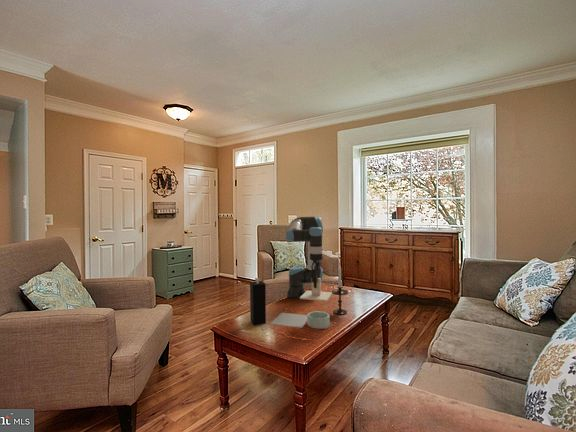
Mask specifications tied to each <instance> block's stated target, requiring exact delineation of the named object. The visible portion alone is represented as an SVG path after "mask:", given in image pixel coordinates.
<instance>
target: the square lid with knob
mask: <svg viewBox="0 0 576 432" xmlns="http://www.w3.org/2000/svg"><path fill="white" fill-rule="evenodd" d="M317 282H318V293H313V282H312V283H311V290H305V293H304V294H303V295H302V296H301V297H300V300H306V301H307V300H309V301H320V302H328V301H329V299H330V298H331V296H332V295H333V294H332V291H322V281H321V278H317Z"/></svg>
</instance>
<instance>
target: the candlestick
mask: <svg viewBox="0 0 576 432" xmlns="http://www.w3.org/2000/svg"><path fill="white" fill-rule="evenodd" d="M337 272H338V273H337V274H338V277H337V278H338V279H337V280H338V282H337V283H338V286H336V289H332V290H331V292H332V295H336V296H338V300H337V302H338V305H337V306H338V308H336V309H333V310H332V312H333V314H335V315H337V316H344V315H346V314H348V311H347V310H346V309H344V308H342V303H343V300H342V296H347V295H348V294H349V290H347V289H345V288H344V287H343V286H342V267H341V261H339V262H338V268H337Z"/></svg>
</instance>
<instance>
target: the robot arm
mask: <svg viewBox="0 0 576 432" xmlns="http://www.w3.org/2000/svg"><path fill="white" fill-rule="evenodd" d="M323 232H324V227H323V221H322V218H321V217H320V216H299V217H296V218H294V219H293V220H292V221H290V223H289V229H287V230H286V233H285V240H286V241H287V242H288V243H290V242H291V243H293V242H295V243H297V242H299V243H300V242H307V265H306V266H305V268H304V266H293V267H291V268H289V270H288V282H289V283H288V289H287V292H286V297H287V298H288V299H292V300H299V299H300V297H301V296H302V295H303V294H304V293H305V292H306V290H305V287H304V284H312V282H313V293H318V282H317V278H321V282H322V281H323V273H324V271H323V270H324V269H323V268H322V267H321V264H322V263H321V262H320V261H322V260H323ZM300 300H301V299H300Z"/></svg>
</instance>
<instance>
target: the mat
mask: <svg viewBox="0 0 576 432" xmlns="http://www.w3.org/2000/svg"><path fill="white" fill-rule="evenodd" d="M307 315H308V314H299V313H298V314H297V313H288V312H280V313H279V315H277V317H275V318H274V319H273V320H272V321H271V323H269V324H271V325H278V326H285V327H294V328H303V327H304V325H305V324H307V323H306V322H307Z"/></svg>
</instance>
